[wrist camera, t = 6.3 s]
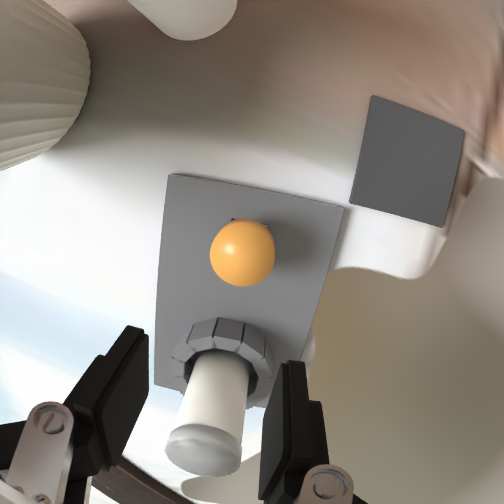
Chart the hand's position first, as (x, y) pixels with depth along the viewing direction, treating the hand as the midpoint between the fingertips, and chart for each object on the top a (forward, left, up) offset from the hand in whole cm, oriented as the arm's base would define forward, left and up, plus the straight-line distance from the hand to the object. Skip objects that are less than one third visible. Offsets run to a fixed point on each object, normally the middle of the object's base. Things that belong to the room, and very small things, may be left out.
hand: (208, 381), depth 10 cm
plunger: (0, 0, -17) cm, 17 cm away
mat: (-12, -9, -17) cm, 23 cm away
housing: (0, +7, -17) cm, 19 cm away
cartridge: (0, +12, -16) cm, 20 cm away
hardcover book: (+14, +49, -18) cm, 54 cm away
